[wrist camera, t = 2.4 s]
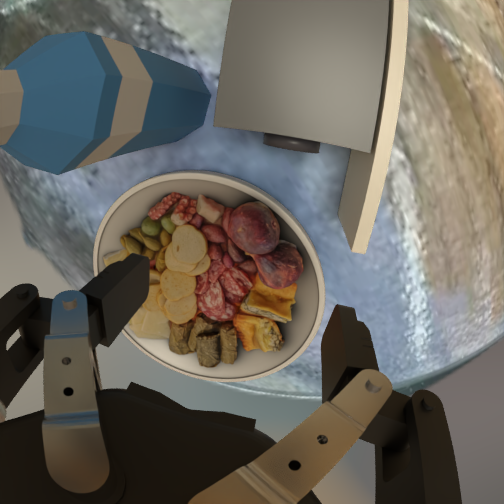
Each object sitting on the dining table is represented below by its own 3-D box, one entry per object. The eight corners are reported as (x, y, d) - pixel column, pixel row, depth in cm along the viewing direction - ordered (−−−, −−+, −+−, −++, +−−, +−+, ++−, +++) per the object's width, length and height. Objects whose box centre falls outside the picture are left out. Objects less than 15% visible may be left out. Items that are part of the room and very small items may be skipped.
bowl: (238, 384, 48) (229, 420, 41) (90, 285, 44) (63, 311, 37) (371, 265, 35) (385, 300, 28) (170, 116, 31) (136, 118, 24)
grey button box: (259, -17, 22) (242, -64, 12) (367, 0, 21) (391, -42, 12) (237, 135, 31) (208, 142, 21) (346, 154, 30) (369, 169, 20)
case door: (369, -6, 20) (392, -45, 12) (385, -1, 20) (413, -37, 11) (336, 213, 32) (350, 251, 23) (351, 217, 32) (370, 255, 23)
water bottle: (206, 57, 27) (33, -22, 5) (216, 134, 31) (40, 185, 8) (133, 76, 29) (-55, 71, 6) (143, 147, 33) (-42, 216, 10)
